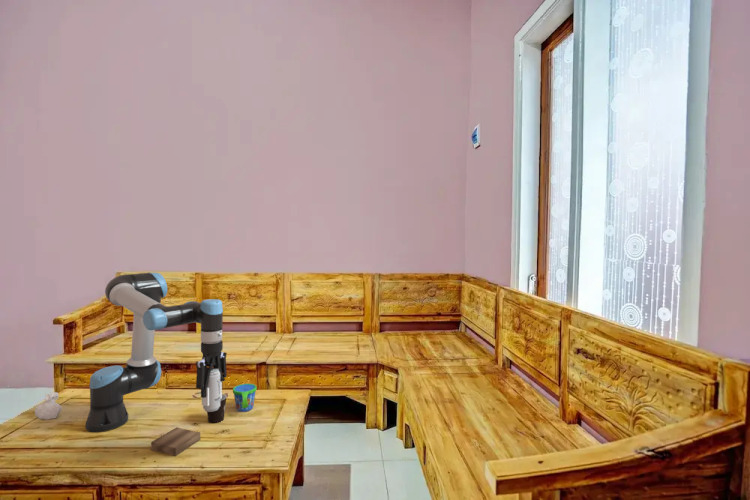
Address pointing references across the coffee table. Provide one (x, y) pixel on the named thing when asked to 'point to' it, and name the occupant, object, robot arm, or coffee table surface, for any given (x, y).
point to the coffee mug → (218, 412)
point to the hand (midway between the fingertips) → (212, 401)
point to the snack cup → (244, 396)
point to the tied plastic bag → (48, 407)
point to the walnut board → (175, 441)
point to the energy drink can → (213, 391)
